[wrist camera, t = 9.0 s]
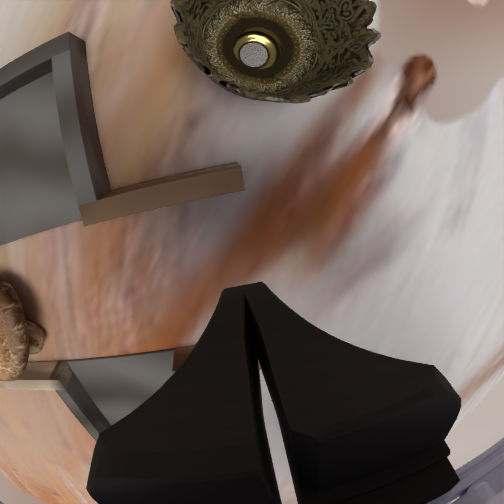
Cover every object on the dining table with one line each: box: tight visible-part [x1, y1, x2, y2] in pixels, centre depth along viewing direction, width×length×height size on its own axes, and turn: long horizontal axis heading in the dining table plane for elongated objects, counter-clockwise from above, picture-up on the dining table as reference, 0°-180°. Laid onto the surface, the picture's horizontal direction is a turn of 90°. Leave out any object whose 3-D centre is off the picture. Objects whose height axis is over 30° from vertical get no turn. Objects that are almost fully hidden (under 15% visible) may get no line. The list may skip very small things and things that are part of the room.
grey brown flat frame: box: [0, 32, 261, 441], centre depth 18 cm, size 33×26×2 cm
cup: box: [171, 0, 381, 103], centre depth 11 cm, size 8×7×8 cm
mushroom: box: [0, 280, 45, 381], centre depth 17 cm, size 8×8×6 cm
